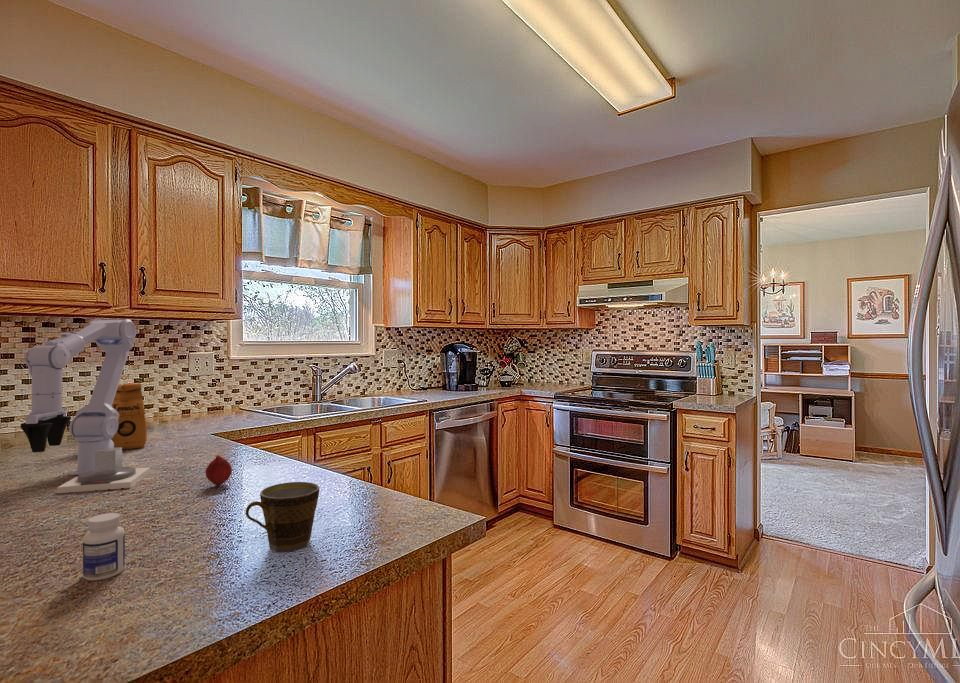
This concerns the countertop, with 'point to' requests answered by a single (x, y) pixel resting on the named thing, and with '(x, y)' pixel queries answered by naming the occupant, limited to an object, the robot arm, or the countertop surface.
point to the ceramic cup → (288, 514)
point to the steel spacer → (108, 461)
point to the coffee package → (130, 417)
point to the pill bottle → (103, 547)
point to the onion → (218, 470)
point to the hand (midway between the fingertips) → (46, 448)
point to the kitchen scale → (104, 480)
